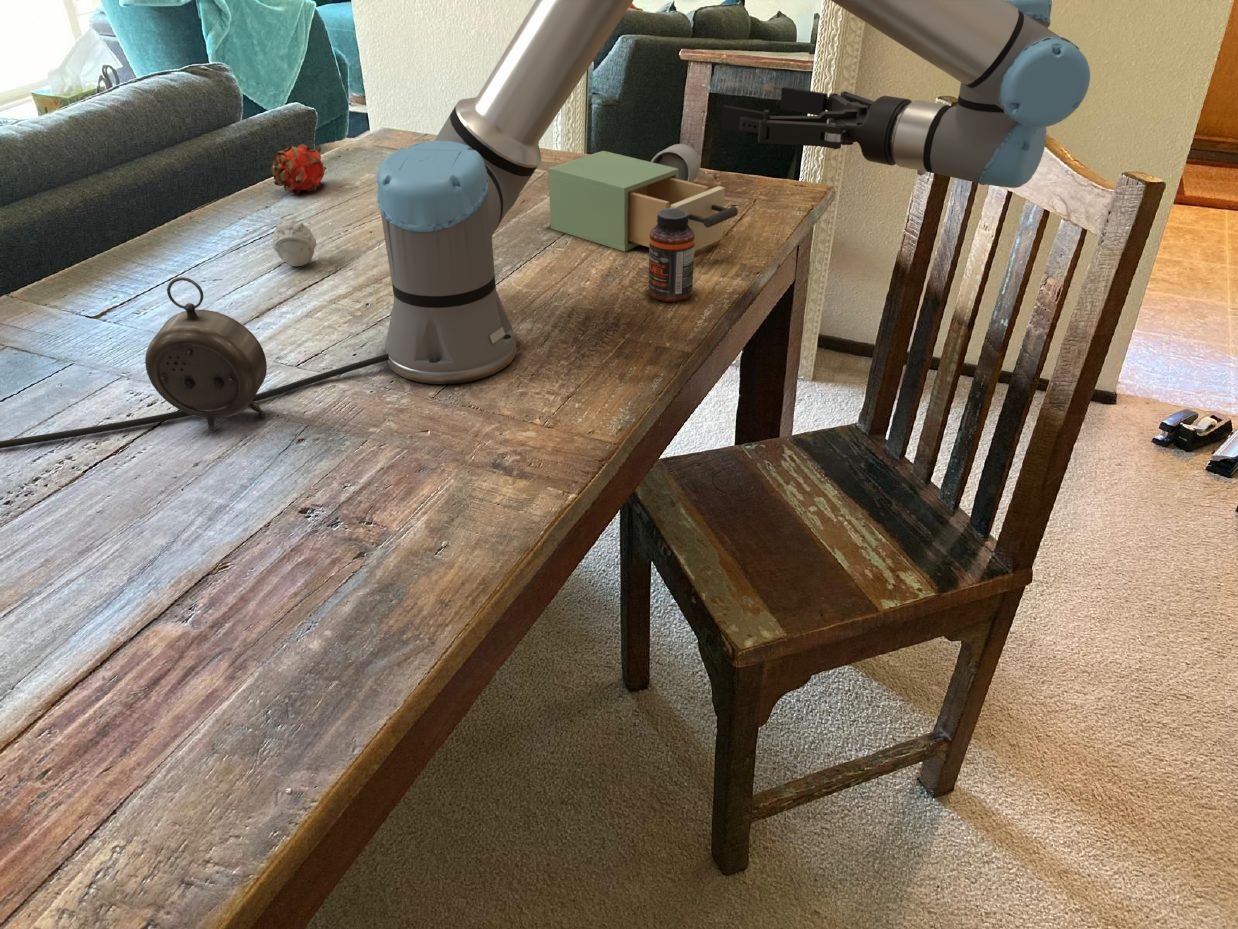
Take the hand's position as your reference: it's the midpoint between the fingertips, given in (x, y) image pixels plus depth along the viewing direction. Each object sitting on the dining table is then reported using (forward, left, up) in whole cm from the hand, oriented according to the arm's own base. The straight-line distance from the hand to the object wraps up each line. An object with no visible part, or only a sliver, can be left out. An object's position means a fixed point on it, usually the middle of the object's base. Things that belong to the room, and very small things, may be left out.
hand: (753, 107), depth 121 cm
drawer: (-2, +13, -21) cm, 25 cm away
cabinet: (-4, +24, -22) cm, 33 cm away
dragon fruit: (-34, +75, -22) cm, 86 cm away
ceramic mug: (+16, +34, -22) cm, 44 cm away
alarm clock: (-73, +4, -22) cm, 77 cm away
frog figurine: (-49, +41, -22) cm, 68 cm away
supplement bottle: (-14, -1, -22) cm, 27 cm away
